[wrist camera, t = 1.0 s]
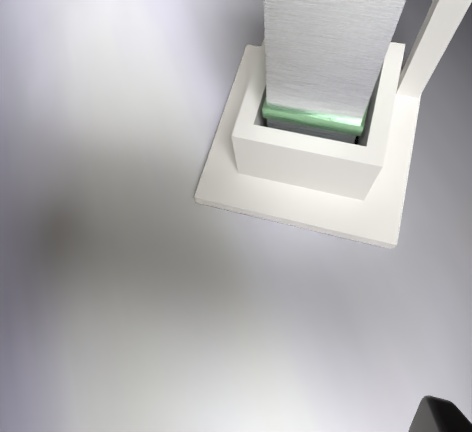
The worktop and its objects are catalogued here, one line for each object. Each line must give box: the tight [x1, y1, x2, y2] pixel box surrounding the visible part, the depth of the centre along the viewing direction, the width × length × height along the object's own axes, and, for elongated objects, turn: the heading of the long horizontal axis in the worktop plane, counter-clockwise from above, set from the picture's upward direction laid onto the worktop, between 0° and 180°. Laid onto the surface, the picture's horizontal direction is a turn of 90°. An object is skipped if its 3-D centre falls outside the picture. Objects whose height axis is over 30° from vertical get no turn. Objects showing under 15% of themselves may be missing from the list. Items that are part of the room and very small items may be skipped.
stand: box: [194, 0, 472, 249], centre depth 18 cm, size 10×11×10 cm
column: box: [262, 0, 406, 144], centre depth 16 cm, size 4×4×13 cm
